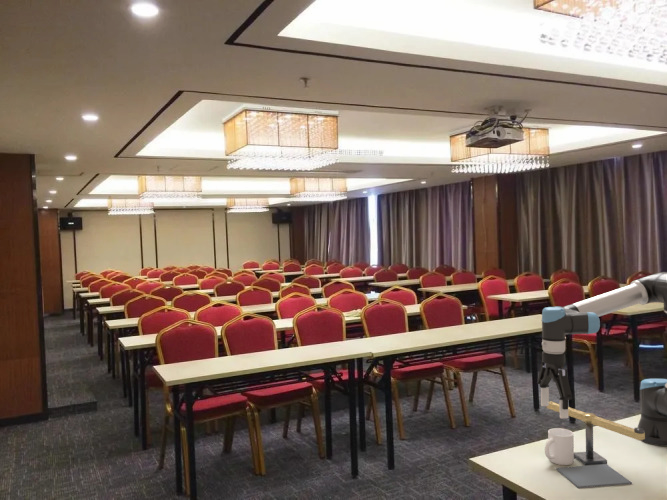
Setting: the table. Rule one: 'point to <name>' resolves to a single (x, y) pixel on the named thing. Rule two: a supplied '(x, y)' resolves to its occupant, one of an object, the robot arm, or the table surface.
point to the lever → (601, 422)
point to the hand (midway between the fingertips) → (554, 411)
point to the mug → (560, 446)
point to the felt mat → (593, 476)
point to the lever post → (589, 450)
